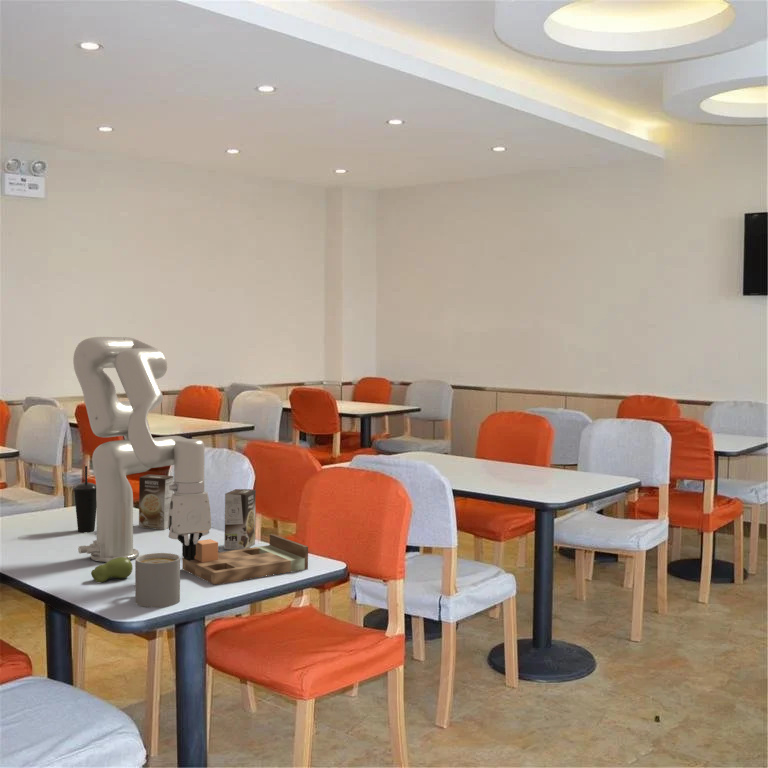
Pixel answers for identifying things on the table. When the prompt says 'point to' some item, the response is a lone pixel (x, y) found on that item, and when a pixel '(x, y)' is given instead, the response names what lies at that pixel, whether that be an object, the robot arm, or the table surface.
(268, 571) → the board
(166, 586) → the coffee mug
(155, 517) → the coffee box
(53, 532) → the table surface
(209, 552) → the block
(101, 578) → the pear
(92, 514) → the drinking cup
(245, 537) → the coffee box
